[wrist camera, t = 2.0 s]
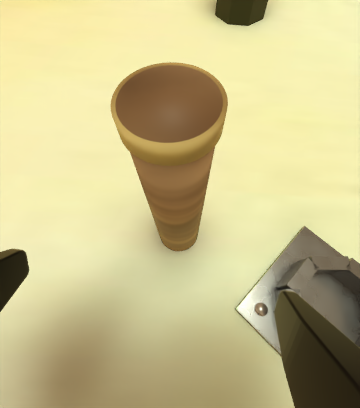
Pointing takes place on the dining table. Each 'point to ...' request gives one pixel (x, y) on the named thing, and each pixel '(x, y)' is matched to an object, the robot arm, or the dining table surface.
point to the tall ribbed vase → (171, 141)
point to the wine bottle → (240, 11)
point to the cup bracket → (307, 287)
